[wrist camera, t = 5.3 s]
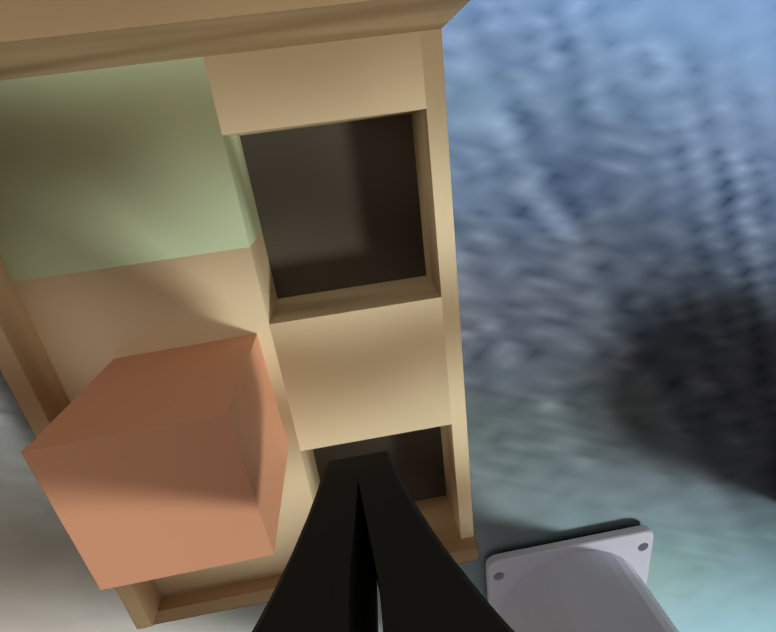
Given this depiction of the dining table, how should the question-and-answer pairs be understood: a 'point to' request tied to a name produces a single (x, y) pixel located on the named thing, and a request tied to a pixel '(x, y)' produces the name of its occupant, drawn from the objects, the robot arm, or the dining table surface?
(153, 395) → the block
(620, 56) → the dining table surface
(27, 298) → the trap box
